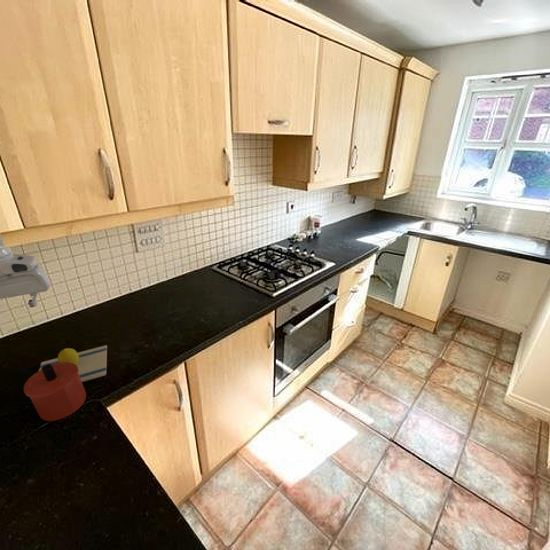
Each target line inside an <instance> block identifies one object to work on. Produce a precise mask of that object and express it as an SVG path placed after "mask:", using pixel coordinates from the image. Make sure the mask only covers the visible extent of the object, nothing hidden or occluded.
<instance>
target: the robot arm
mask: <svg viewBox="0 0 550 550" xmlns="http://www.w3.org/2000/svg"><path fill="white" fill-rule="evenodd" d="M0 235H1V234H0ZM0 246H2V247H4V244H3V238H2V237H1V236H0ZM50 286H51V281H50V279H49V276H48V274H47V272H46V270H45V269H44V267H42V265H39V264H38V258H37V256H35V255H29V254H19V253H13V251H12V249H11V248H10V246H9V247H4V248H0V300H1V299H6V298H13V297H19V296H25V295H26V296H27V295H29V296H30V297H31V298H32V299H29V300H28V302H27V304H28V307H29V308H36V307H37V306H38V302H37V297H38V294H39V293H44V292H47V291H48V290H49V289H50Z"/></svg>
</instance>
